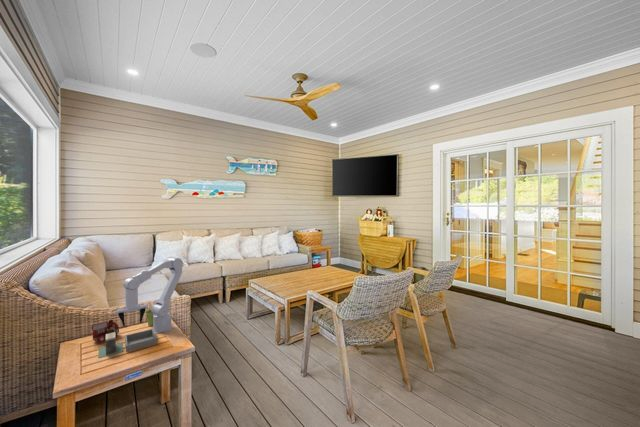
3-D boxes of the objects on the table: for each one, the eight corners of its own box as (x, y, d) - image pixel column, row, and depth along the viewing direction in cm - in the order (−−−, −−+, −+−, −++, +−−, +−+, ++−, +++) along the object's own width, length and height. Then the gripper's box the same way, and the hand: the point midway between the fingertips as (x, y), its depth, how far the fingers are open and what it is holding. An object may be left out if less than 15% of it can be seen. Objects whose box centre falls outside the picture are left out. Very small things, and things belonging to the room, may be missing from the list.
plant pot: (148, 329, 168) (147, 315, 168) (143, 324, 174) (142, 311, 174) (164, 324, 175) (164, 310, 175) (159, 320, 182) (159, 307, 181)
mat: (122, 343, 151) (122, 342, 151) (123, 352, 142) (123, 351, 142) (98, 349, 145) (98, 347, 145) (98, 359, 136) (98, 357, 136)
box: (115, 345, 148) (115, 332, 148) (115, 352, 141) (115, 338, 141) (106, 347, 145) (105, 334, 145) (106, 354, 138) (105, 340, 138)
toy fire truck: (121, 337, 158) (120, 319, 158) (93, 345, 149) (93, 326, 148) (117, 333, 163) (116, 316, 162) (90, 341, 153) (89, 323, 153)
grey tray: (152, 332, 164) (152, 326, 164) (157, 347, 146) (157, 341, 146) (124, 338, 156) (124, 332, 156) (126, 356, 138) (126, 349, 138)
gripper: (115, 304, 146) (116, 330, 146) (147, 299, 155) (148, 323, 155) (115, 301, 151) (116, 325, 152) (146, 295, 160) (147, 319, 161)
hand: (132, 324), depth 154 cm, fingers open, 7 cm apart
